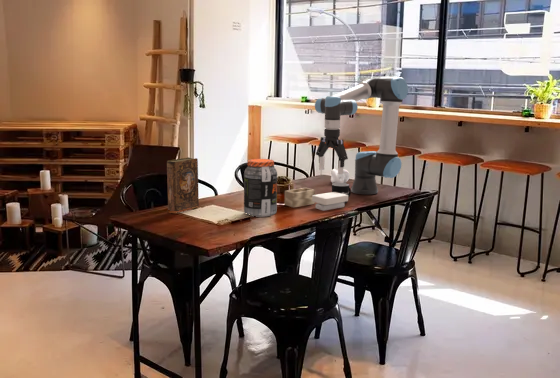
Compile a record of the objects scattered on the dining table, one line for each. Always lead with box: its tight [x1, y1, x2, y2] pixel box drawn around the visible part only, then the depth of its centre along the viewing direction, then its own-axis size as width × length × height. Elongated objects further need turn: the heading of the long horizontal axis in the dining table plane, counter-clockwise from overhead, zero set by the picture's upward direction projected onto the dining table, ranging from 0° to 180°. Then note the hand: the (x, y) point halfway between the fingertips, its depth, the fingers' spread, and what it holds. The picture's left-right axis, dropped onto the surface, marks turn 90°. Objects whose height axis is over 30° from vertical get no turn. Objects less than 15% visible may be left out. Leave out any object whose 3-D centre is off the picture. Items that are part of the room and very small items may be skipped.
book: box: [166, 156, 200, 211], centre depth 276 cm, size 16×6×25 cm, turn 145°
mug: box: [331, 182, 352, 204], centre depth 297 cm, size 12×9×10 cm
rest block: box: [314, 202, 346, 212], centre depth 285 cm, size 14×6×3 cm, turn 128°
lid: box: [312, 191, 349, 205], centre depth 284 cm, size 15×10×4 cm, turn 128°
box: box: [284, 187, 316, 208], centre depth 291 cm, size 14×7×8 cm, turn 128°
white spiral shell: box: [330, 168, 350, 184], centre depth 349 cm, size 11×12×9 cm
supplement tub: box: [243, 158, 278, 218], centre depth 272 cm, size 16×16×26 cm
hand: (331, 171), depth 282 cm, fingers open, 13 cm apart
